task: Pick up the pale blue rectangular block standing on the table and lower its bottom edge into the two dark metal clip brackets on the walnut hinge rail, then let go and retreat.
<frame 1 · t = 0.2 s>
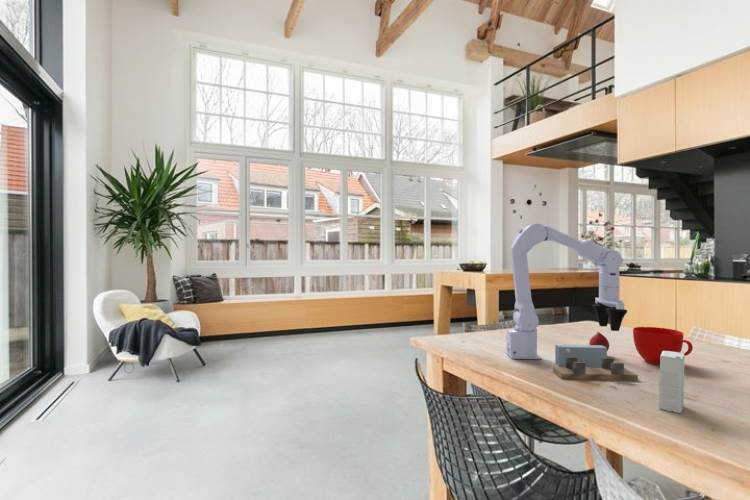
hand: (609, 328, 130), 10 cm above the table, fingers open, 7 cm apart
hinge rail: (593, 376, 112), on the table
onion: (599, 356, 134), on the table
pale blue rectangular block: (580, 365, 123), on the table
skincare box: (671, 408, 89), on the table
ceramic cup: (663, 364, 123), on the table
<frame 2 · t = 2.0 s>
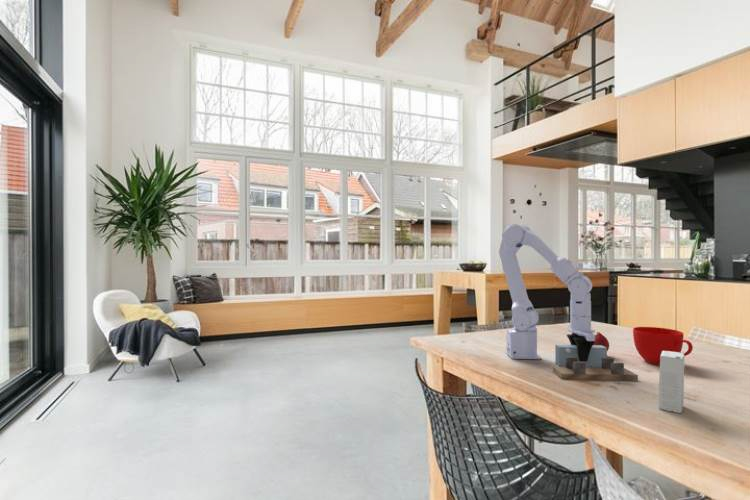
hand: (580, 359, 123), 2 cm above the table, fingers closed on pale blue rectangular block, 3 cm apart
pale blue rectangular block: (580, 365, 123), on the table, touching gripper
everything else where it was.
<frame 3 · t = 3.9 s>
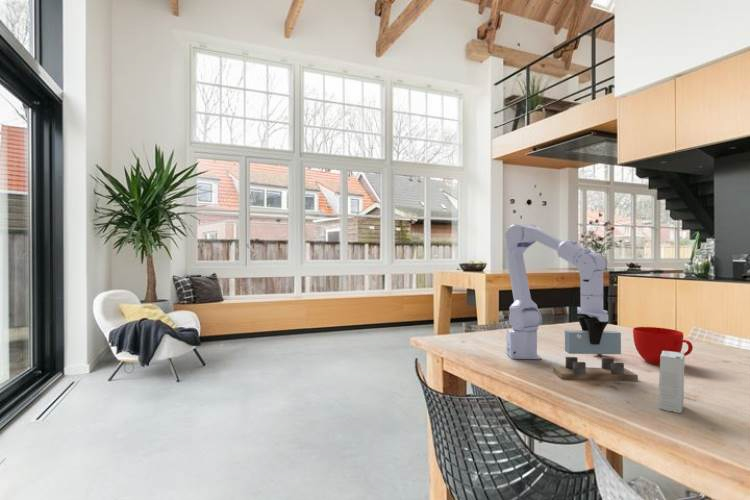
hand: (592, 342, 113), 9 cm above the table, fingers closed on pale blue rectangular block, 3 cm apart
pale blue rectangular block: (592, 352, 113), point 6 cm above the table, touching gripper
everything else where it was.
when the fingers open (4 cm above the table, at t = 5.7 s): pale blue rectangular block stays where it is, resting on hinge rail.
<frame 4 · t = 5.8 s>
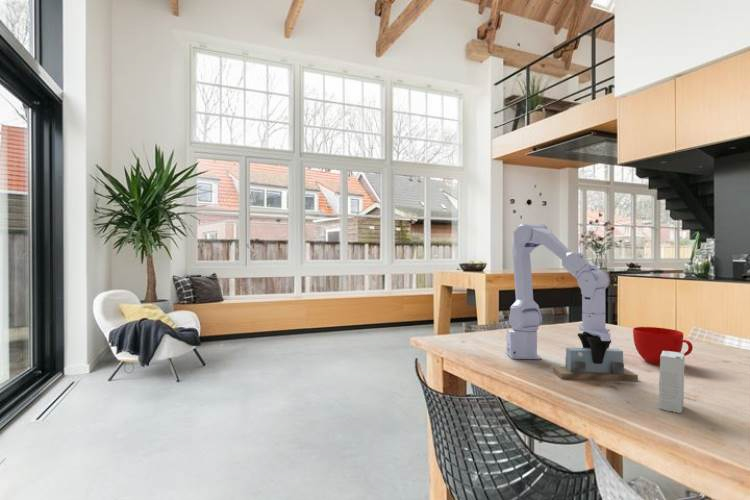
hand: (593, 361, 112), 4 cm above the table, fingers open, 4 cm apart
pale blue rectangular block: (594, 370, 112), point 1 cm above the table, touching hinge rail
everything else where it was.
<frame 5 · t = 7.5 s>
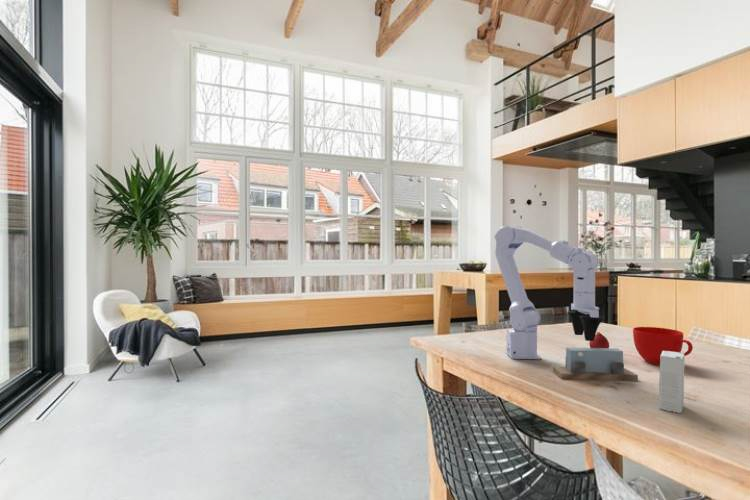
hand: (583, 337, 119), 9 cm above the table, fingers open, 7 cm apart
nothing on the table moved.
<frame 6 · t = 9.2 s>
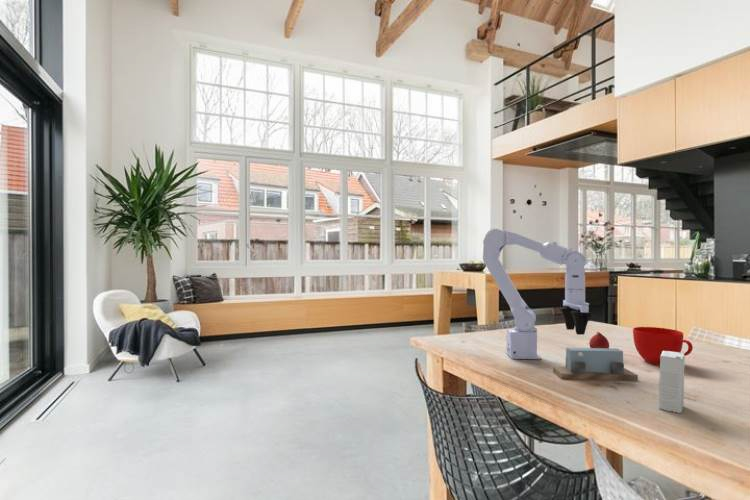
hand: (575, 331, 127), 9 cm above the table, fingers open, 7 cm apart
nothing on the table moved.
at the end: pale blue rectangular block 0.1 cm off-centre on the hinge rail, point 1.5 cm above the hinge rail's base; pale blue rectangular block tilted 0°; the gripper is holding nothing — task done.
